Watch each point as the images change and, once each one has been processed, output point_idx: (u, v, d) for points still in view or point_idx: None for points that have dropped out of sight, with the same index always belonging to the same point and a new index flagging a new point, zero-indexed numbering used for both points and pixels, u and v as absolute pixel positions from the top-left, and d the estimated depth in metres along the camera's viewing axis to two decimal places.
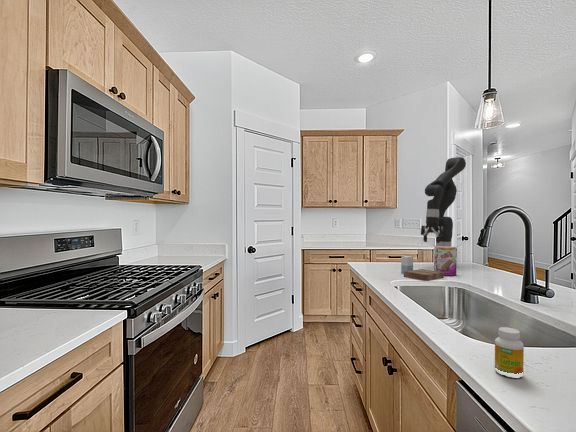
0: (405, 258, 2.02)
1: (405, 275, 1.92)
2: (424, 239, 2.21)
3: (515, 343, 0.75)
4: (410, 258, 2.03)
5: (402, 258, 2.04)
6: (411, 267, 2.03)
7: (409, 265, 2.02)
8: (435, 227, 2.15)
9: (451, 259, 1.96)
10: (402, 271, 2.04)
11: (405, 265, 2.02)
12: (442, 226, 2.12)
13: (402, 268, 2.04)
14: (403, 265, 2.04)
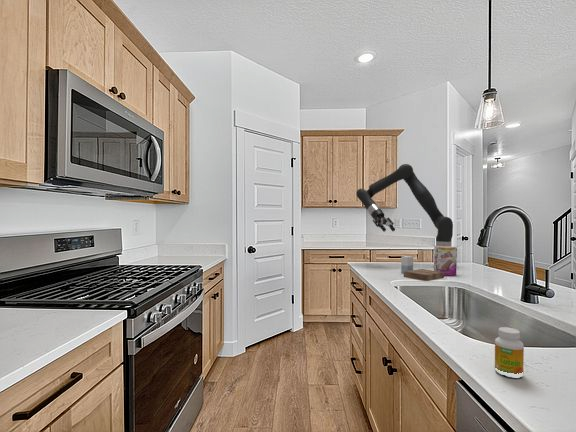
0: (405, 258, 2.02)
1: (405, 275, 1.92)
2: (391, 229, 2.21)
3: (515, 343, 0.75)
4: (410, 258, 2.03)
5: (402, 258, 2.04)
6: (411, 267, 2.03)
7: (409, 265, 2.02)
8: None
9: (451, 259, 1.96)
10: (402, 271, 2.04)
11: (405, 265, 2.02)
12: (374, 218, 2.19)
13: (402, 268, 2.04)
14: (403, 265, 2.04)
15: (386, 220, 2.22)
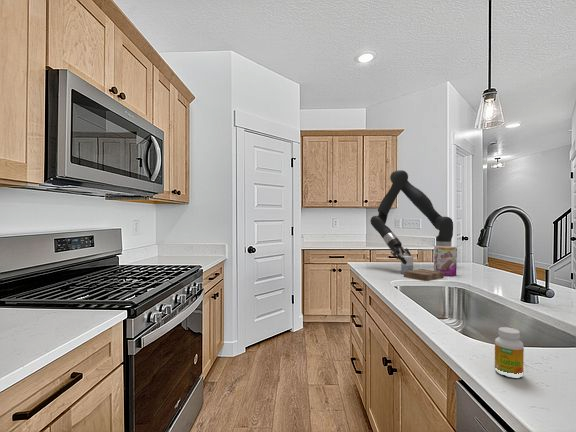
0: (405, 258, 2.02)
1: (405, 275, 1.92)
2: None
3: (515, 343, 0.75)
4: (410, 258, 2.03)
5: None
6: (411, 267, 2.03)
7: (409, 265, 2.02)
8: None
9: (451, 259, 1.96)
10: (402, 271, 2.04)
11: (405, 265, 2.03)
12: (392, 250, 2.05)
13: (402, 268, 2.04)
14: (403, 265, 2.04)
15: (403, 250, 2.08)
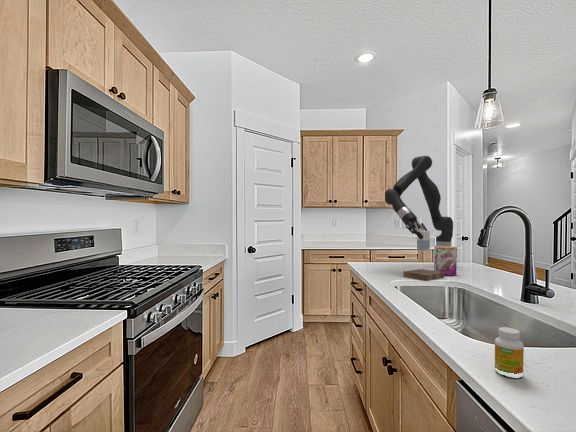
0: (421, 232, 1.90)
1: (405, 275, 1.92)
2: None
3: (515, 343, 0.75)
4: (427, 232, 1.90)
5: None
6: (428, 242, 1.91)
7: (426, 240, 1.90)
8: None
9: (451, 259, 1.96)
10: (418, 246, 1.92)
11: (421, 240, 1.90)
12: (407, 224, 1.93)
13: (418, 243, 1.92)
14: (419, 240, 1.91)
15: (419, 225, 1.95)
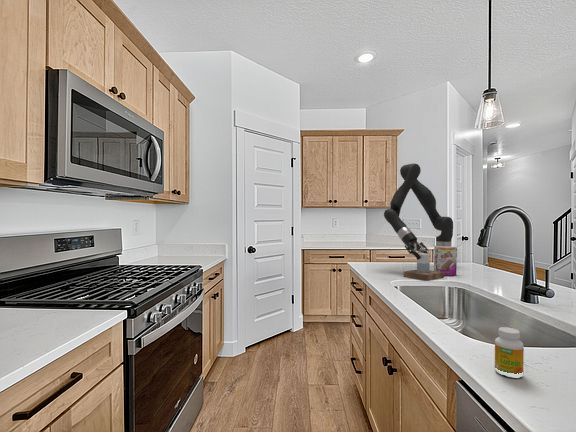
0: (421, 255, 1.90)
1: (405, 275, 1.92)
2: None
3: (515, 343, 0.75)
4: (426, 255, 1.90)
5: None
6: (428, 265, 1.91)
7: (425, 263, 1.90)
8: None
9: (451, 259, 1.96)
10: (418, 269, 1.92)
11: (421, 263, 1.90)
12: (406, 244, 1.93)
13: (418, 266, 1.92)
14: (419, 263, 1.91)
15: (419, 246, 1.96)
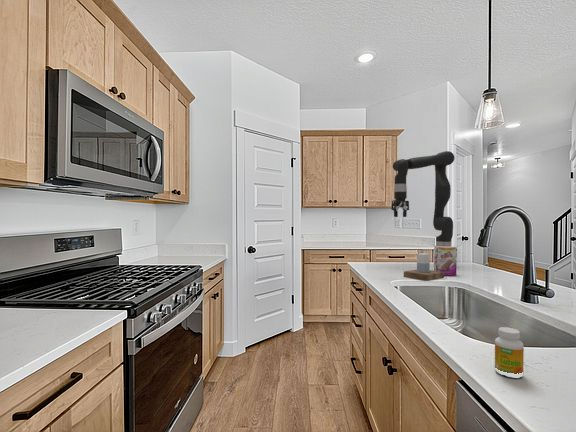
0: (421, 255, 1.90)
1: (405, 275, 1.92)
2: (403, 214, 2.22)
3: (515, 343, 0.75)
4: (426, 255, 1.90)
5: (418, 255, 1.92)
6: (428, 265, 1.91)
7: (425, 263, 1.90)
8: None
9: (451, 259, 1.96)
10: (418, 269, 1.92)
11: (421, 263, 1.90)
12: (394, 200, 2.15)
13: (418, 266, 1.92)
14: (419, 263, 1.91)
15: (404, 205, 2.19)
